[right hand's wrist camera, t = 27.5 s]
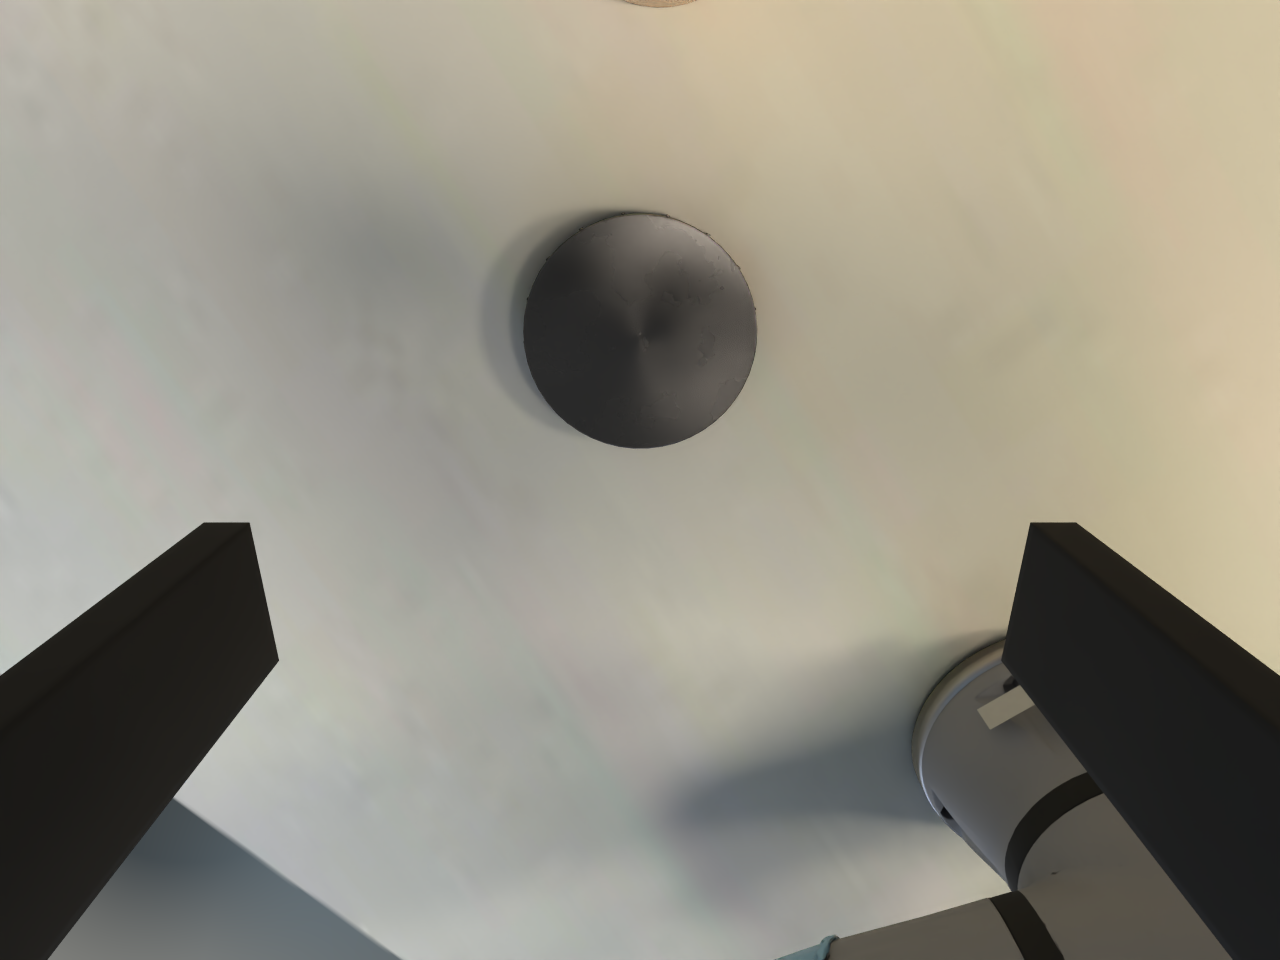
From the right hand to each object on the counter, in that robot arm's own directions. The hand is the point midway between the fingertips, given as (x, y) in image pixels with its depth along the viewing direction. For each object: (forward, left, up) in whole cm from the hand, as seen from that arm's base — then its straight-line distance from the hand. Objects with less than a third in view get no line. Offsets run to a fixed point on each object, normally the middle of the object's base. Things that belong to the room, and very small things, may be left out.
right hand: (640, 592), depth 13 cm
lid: (0, 0, -24) cm, 24 cm away
